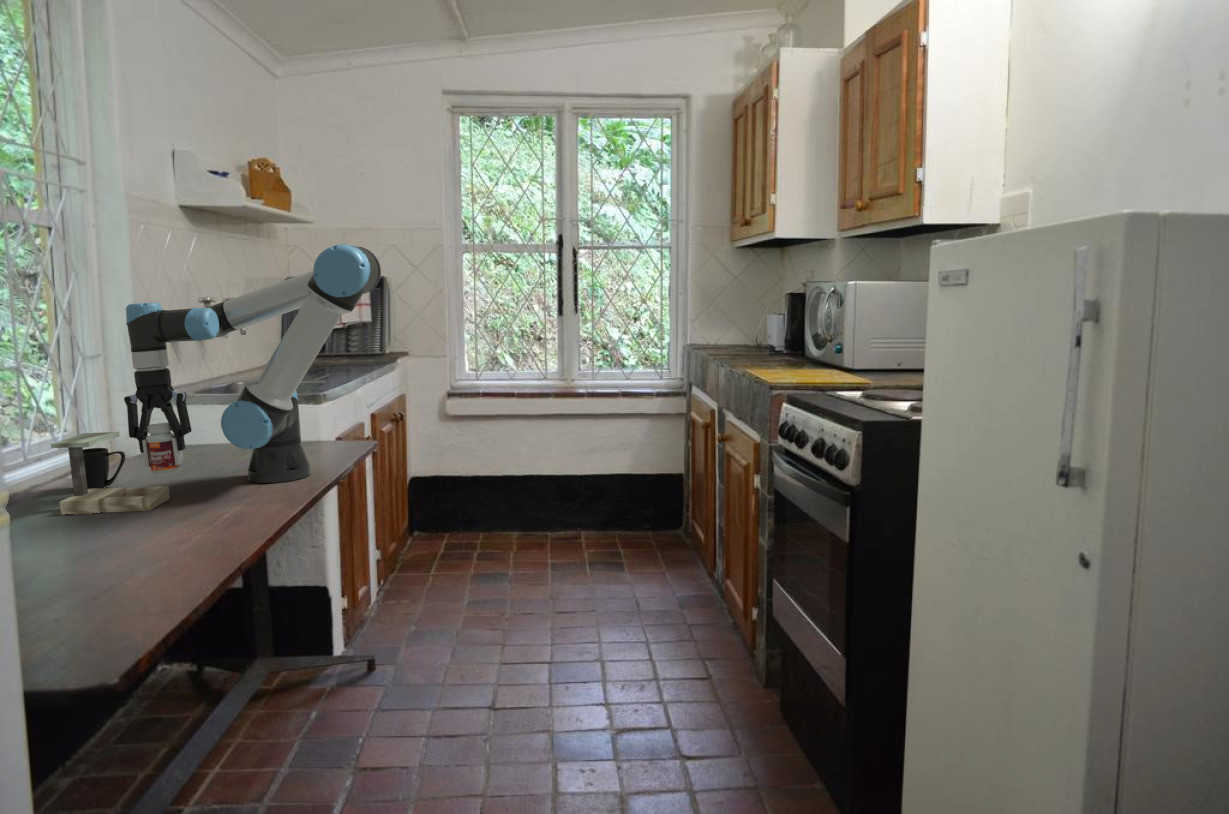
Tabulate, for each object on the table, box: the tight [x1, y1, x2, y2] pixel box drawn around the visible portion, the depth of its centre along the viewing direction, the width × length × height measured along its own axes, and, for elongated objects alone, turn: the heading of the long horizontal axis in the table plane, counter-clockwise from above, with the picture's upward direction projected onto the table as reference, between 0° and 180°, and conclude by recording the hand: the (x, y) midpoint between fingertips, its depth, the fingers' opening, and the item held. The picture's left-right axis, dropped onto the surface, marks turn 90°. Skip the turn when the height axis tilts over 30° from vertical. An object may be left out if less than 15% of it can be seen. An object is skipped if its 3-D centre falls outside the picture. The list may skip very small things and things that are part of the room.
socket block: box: [50, 431, 171, 516], centre depth 199 cm, size 18×13×16 cm
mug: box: [83, 447, 126, 489], centre depth 218 cm, size 8×12×10 cm
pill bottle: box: [146, 422, 180, 474], centre depth 210 cm, size 6×6×11 cm
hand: (164, 464), depth 211 cm, fingers closed on pill bottle, 6 cm apart
